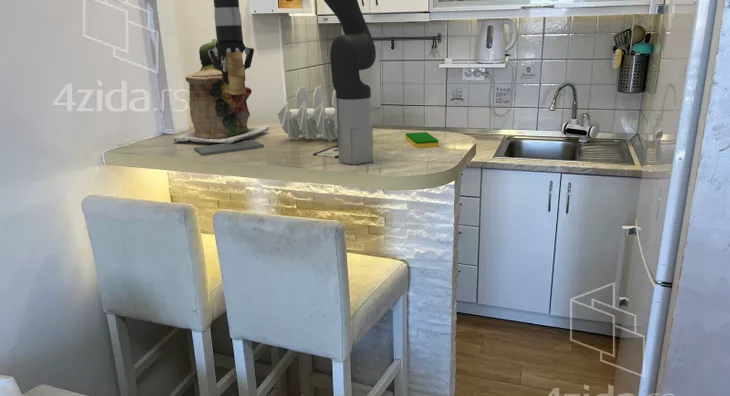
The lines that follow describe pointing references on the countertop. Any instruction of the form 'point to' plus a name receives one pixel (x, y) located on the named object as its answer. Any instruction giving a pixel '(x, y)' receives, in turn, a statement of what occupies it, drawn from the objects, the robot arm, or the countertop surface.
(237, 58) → the tall wooden block
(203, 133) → the cookie jar
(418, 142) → the dish sponge
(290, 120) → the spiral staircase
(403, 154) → the countertop surface
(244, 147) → the rubber mat
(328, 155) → the chocolate bar
